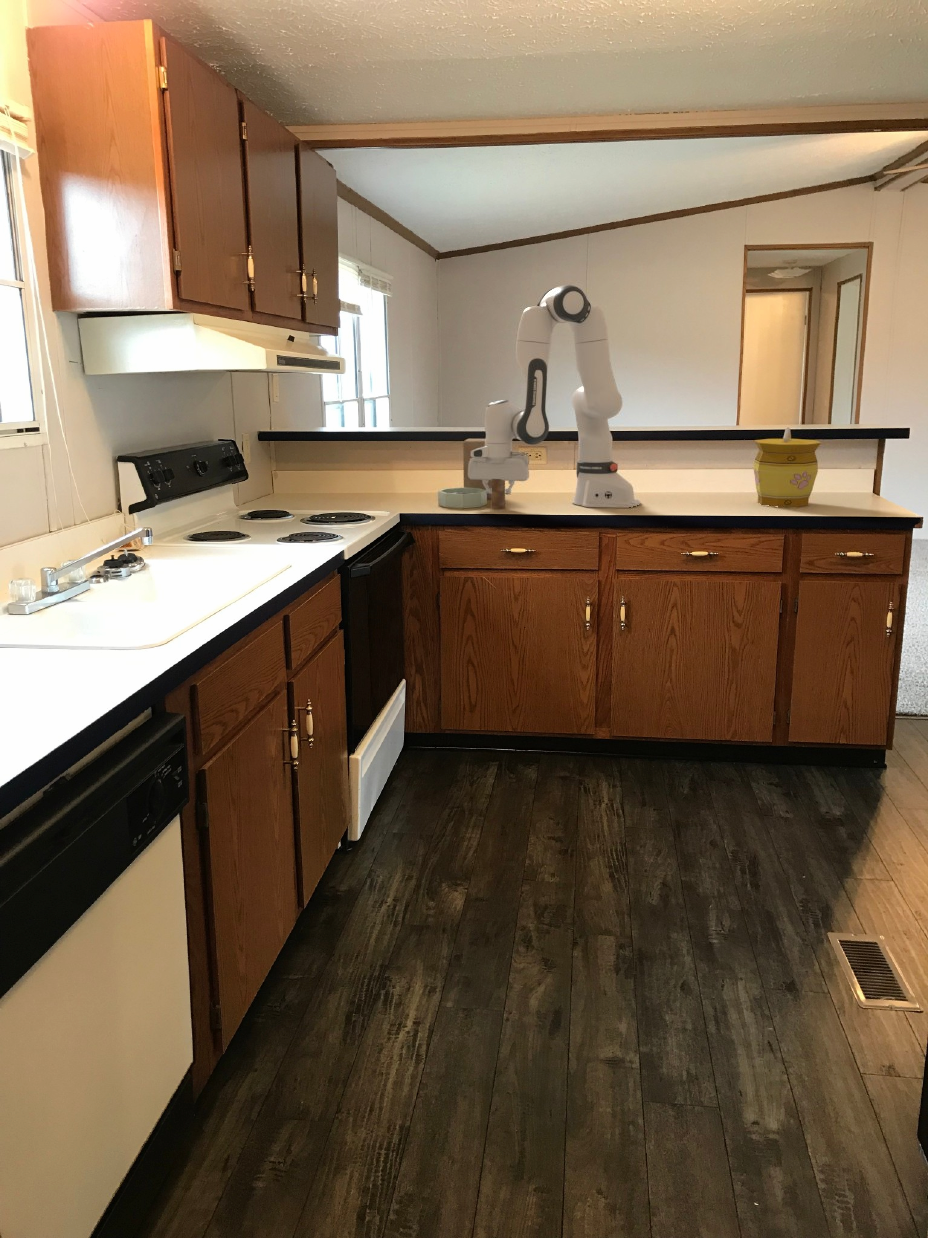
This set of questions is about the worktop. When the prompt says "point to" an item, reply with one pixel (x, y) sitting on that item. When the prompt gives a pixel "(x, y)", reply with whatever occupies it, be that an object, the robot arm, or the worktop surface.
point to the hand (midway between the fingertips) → (498, 493)
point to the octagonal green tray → (462, 497)
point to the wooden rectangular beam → (498, 494)
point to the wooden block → (467, 448)
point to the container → (785, 471)
